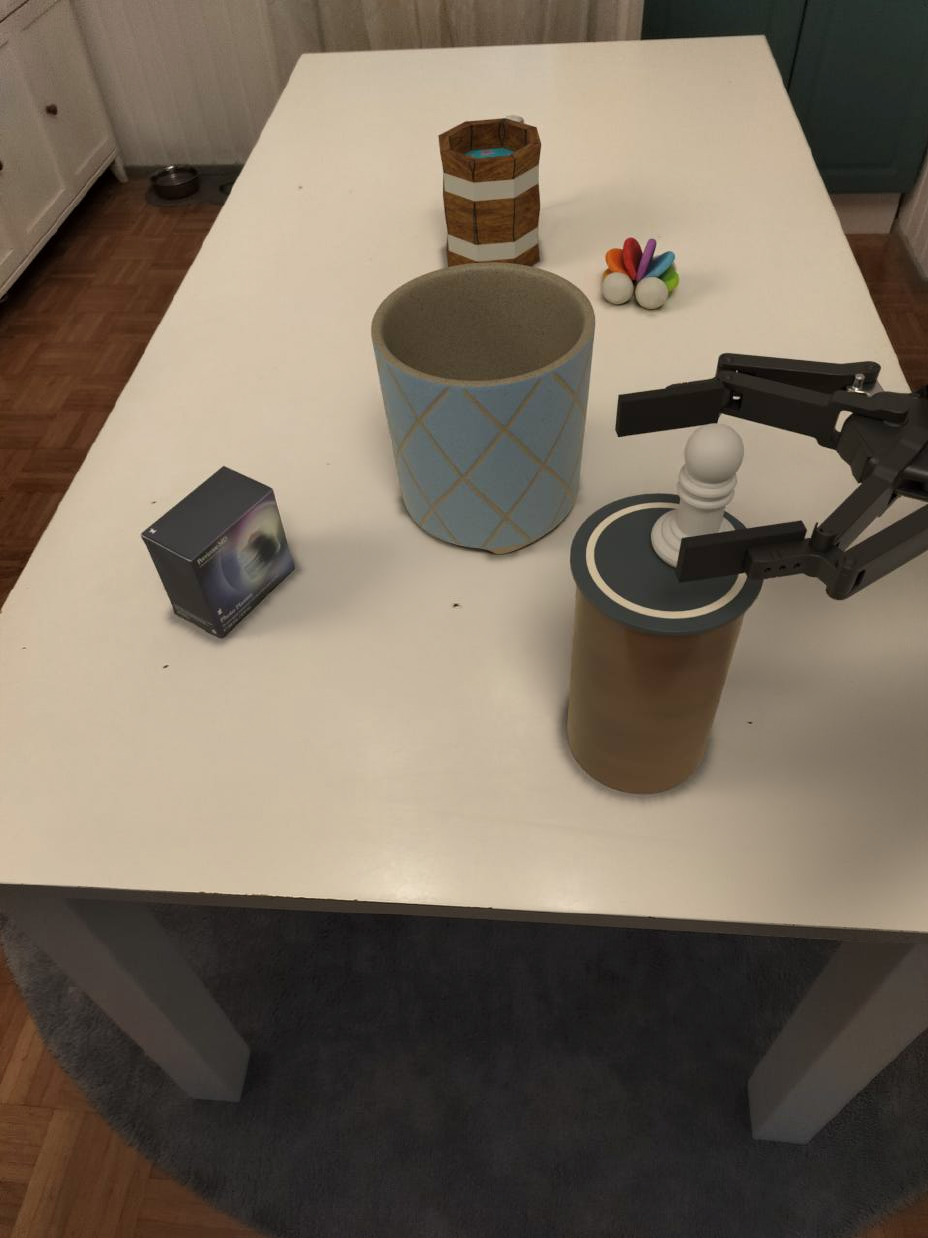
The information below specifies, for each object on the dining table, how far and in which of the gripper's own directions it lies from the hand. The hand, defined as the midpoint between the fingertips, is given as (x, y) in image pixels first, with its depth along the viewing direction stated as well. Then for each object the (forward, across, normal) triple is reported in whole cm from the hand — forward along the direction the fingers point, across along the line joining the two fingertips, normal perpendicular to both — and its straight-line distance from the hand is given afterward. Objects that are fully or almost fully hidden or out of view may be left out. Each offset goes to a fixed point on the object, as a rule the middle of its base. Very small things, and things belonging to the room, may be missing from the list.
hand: (646, 482), depth 51 cm
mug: (-5, +80, -26) cm, 85 cm away
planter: (+5, +30, -26) cm, 40 cm away
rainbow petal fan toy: (-20, +63, -26) cm, 71 cm away
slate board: (-2, -1, -6) cm, 7 cm away
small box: (+31, +22, -27) cm, 46 cm away
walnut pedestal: (-2, -1, -26) cm, 26 cm away
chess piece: (-4, 0, -6) cm, 7 cm away
